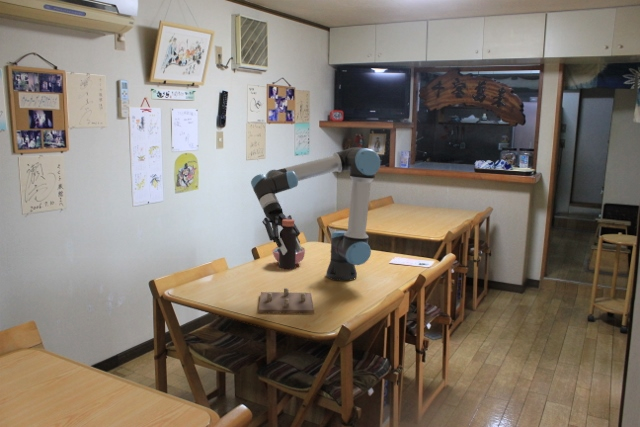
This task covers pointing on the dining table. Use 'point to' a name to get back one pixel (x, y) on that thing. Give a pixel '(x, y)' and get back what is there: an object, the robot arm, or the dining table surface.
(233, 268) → the dining table surface
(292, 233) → the vinegar
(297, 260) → the cell model
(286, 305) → the peg stand
